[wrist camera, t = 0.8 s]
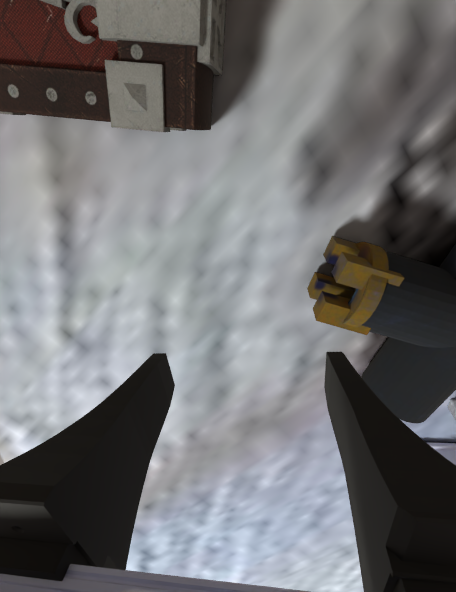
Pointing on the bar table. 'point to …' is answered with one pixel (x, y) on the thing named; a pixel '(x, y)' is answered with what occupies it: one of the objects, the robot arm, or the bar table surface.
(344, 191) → the bar table surface
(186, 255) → the bar table surface
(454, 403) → the white long box
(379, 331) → the pipe connector
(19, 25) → the book
